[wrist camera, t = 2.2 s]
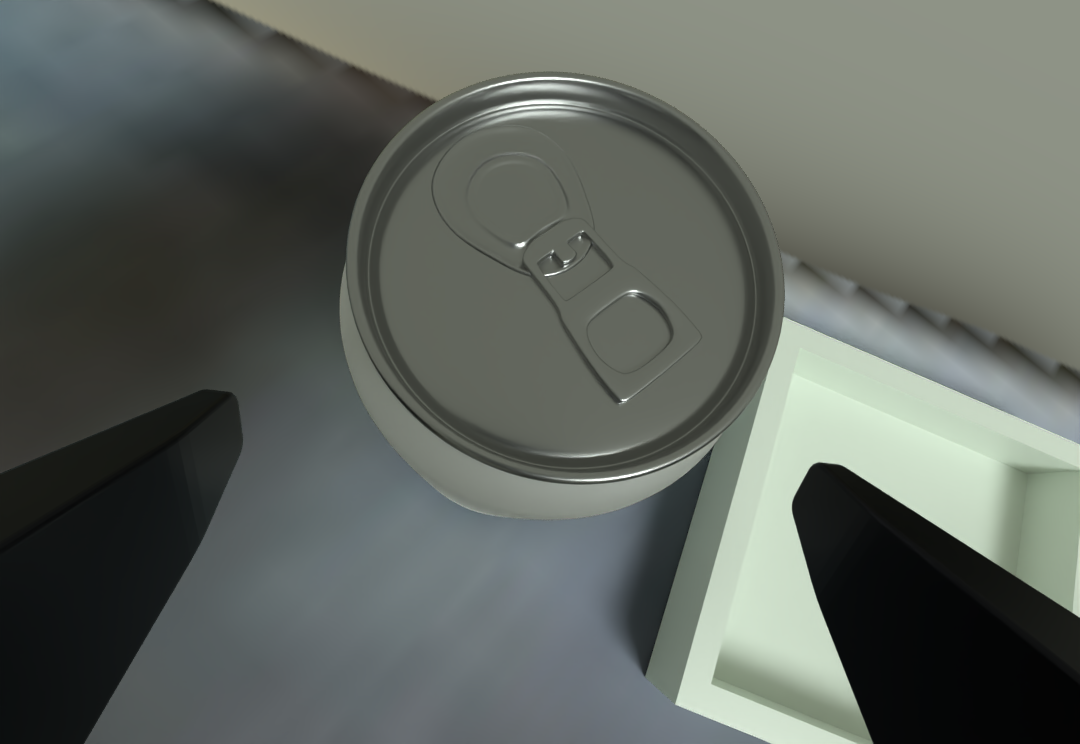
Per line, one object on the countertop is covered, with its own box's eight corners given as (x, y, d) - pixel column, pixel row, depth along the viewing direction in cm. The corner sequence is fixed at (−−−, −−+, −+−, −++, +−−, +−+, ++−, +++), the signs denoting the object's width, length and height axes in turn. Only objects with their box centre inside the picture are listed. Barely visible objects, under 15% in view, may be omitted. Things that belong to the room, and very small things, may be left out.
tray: (991, 817, 17) (1076, 866, 15) (645, 677, 17) (675, 704, 15) (1033, 463, 21) (1108, 457, 18) (745, 339, 20) (783, 316, 18)
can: (520, 291, 20) (603, -25, 8) (636, 433, 19) (910, 309, 7) (366, 399, 18) (193, 195, 6) (488, 559, 17) (540, 656, 6)
